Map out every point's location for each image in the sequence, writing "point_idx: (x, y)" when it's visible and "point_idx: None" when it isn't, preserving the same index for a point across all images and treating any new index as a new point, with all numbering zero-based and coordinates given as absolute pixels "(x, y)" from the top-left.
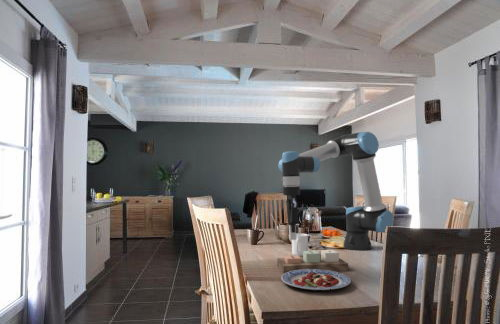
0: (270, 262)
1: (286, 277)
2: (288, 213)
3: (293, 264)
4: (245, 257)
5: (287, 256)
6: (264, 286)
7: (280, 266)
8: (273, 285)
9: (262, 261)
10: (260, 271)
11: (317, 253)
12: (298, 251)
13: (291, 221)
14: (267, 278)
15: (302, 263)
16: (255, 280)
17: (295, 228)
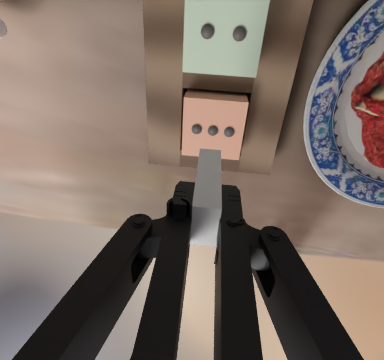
0: (116, 164)
1: (366, 189)
2: (117, 317)
3: (262, 136)
4: (47, 216)
5: (197, 147)
6: (362, 237)
7: None
8: (368, 218)
9: (101, 184)
10: None
11: (266, 3)
12: (4, 23)
13: (270, 280)
14: (298, 216)
15: (259, 94)
16: (302, 243)
17: (221, 193)
